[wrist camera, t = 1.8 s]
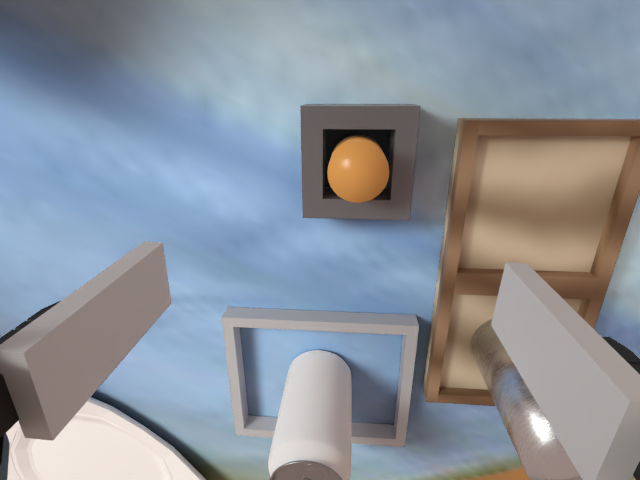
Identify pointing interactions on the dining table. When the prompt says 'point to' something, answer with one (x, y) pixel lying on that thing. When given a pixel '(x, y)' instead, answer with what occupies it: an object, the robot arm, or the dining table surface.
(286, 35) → the dining table surface
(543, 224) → the divided wooden tray
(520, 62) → the dining table surface
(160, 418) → the dining table surface
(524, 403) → the billet
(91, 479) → the plate
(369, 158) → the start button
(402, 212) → the grey square egg holder
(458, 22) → the dining table surface
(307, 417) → the can
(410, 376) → the grey rectangular frame
